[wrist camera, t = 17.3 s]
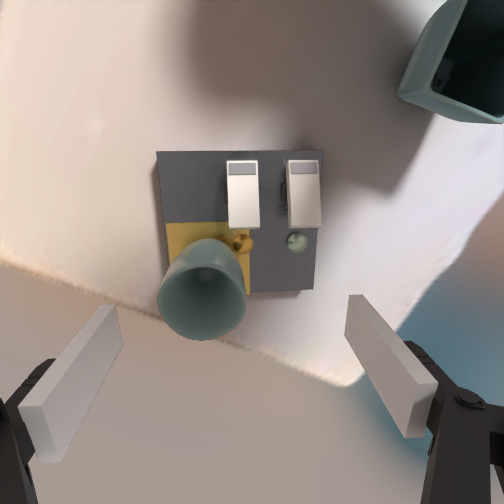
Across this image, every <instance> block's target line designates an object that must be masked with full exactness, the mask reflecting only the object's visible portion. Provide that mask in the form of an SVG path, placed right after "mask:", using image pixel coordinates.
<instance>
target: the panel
mask: <svg viewBox="0 0 504 504" xmlns="http://www.w3.org/2000/svg"><path fill="white" fill-rule="evenodd" d="M322 153H323V150H279V151H156V154H157V163H158V173H159V182H160V191H161V200H162V210H163V219H164V228H165V237H166V246H167V256H168V265H169V266H170V265H171V263H172V262H173V260H174V258H175V257H176V256H177V254H178V253H179V252H180V251H181V250H182V249H183V248H184V247H186V246H187V245H189V244H190V243H192V242H194V241H196V240H200V239H205V238H212V239H217V240H220V241H222V242H224V243H225V244H227V245H228V246H229V247H230V248H231V249H232V250H233V252H234V253H235V254H236V256H237V258H238V260H239V262H240V264H241V267H242V271H243V274H244V280H245V287H246V295H250V292H261V291H284V290H307V289H313V285H314V270H315V256H316V241H317V228H289V223H288V203H287V182H286V164H287V162H288V160H318V165H319V182H321V168H322ZM255 160H257V162H258V187H259V211H260V228H259V229H246V230H229V214H228V184H227V161H255Z"/></svg>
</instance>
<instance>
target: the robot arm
mask: <svg viewBox="0 0 504 504" xmlns="http://www.w3.org/2000/svg"><path fill="white" fill-rule="evenodd" d="M344 336H345V337H346V339H347V341H348V342H349V344H350V346H351V348H352V349H353V351H354V353H355V354H356V356H357V358H358V360H359V361H360V363H361V365H362V366H363V368H364V370H365V371H366V373H367V375H368V377H369V378H370V380H371V382H372V383H373V385H374V387H375V388H376V390H377V392H378V393H379V395H380V397H381V399H382V400H383V402H384V404H385V405H386V407H387V409H388V411H389V412H390V414H391V416H392V418H393V419H394V421H395V423H396V424H397V426H398V428H399V429H400V431H401V433H402V434H403V436H404V438H417V437H424V433H425V429H426V426H427V427H428V429H429V430H430V431H431V433H432V434H433V437H432V441H431V444H430V448H429V451H428V455H429V458H428V463H427V469H426V475H425V480H424V486H423V492H422V498H421V503H420V504H491V490H490V464H493V465H494V467H495V470H496V473H497V476H498V479H499V482H500V485H501V487H502V491H503V494H504V407H502V406H497V405H492V404H487V403H486V402H485V401H484V400H483V399H482V398H481V397H479V396H478V395H477V394H475V393H474V392H472V391H470V390H468V389H464V388H461V387H458V386H457V385H456V384H455V383H454V382H453V381H452V380H451V379H450V378H449V377H448V376H447V375H446V374H445V373H444V371H443V370H442V369H441V368H440V367H439V366H438V365H437V364H435V362H434V361H433V360H432V359H431V358H430V357H429V355H428V354H427V353H426V352H425V351H424V350H423V349H422V348H421V347H420V346H418V345H416V344H415V343H413V342H412V341H402V340H401V339H400V338H399V337H398V335H397V334H396V333H395V332H394V331H393V330H392V328H391V327H390V326H389V325H388V324H387V323H386V321H385V320H384V319H383V318H382V317H381V316H380V315H379V313H378V312H377V311H376V310H375V309H374V308H373V306H372V305H371V304H370V303H369V302H368V301H367V299H366V298H365V297H364V296H363V295H349V301H348V309H347V317H346V325H345V333H344ZM122 346H123V342H122V338H121V332H120V327H119V323H118V317H117V311H116V306H115V304H101V305H100V306H99V307H98V308H97V310H96V311H95V312H94V313H93V314H92V316H91V317H90V318H89V319H88V321H87V322H86V323H85V324H84V325H83V327H82V328H81V329H80V331H79V332H78V333H77V334H76V335H75V337H74V338H73V339H72V340H71V342H70V343H69V344H68V345H67V347H66V348H65V349H64V350H63V351H62V353H61V354H60V355H59V356H58V358H56V359H47V360H46V361H45V362H43V363H42V364H40V365H39V366H37V367H36V368H35V369H34V371H33V372H32V373H31V374H30V375H29V376H28V379H26V380H25V381H24V382H23V383H22V384H21V387H19V388H18V389H17V390H16V391H15V392H14V393H13V395H12V396H11V397H10V398H9V399H8V400H7V401H6V403H5V404H4V403H3V401H2V399H1V398H0V504H38V501H37V496H36V492H35V488H34V484H33V480H32V476H31V472H30V468H29V466H28V462H29V460H30V459H31V457H32V456H33V454H34V453H35V454H36V457H37V459H38V462H39V463H50V462H61V460H62V458H63V456H64V454H65V453H66V450H67V449H68V447H69V445H70V443H71V441H72V440H73V438H74V436H75V433H76V432H77V430H78V428H79V426H80V424H81V423H82V421H83V419H84V417H85V415H86V413H87V411H88V410H89V408H90V406H91V404H92V402H93V400H94V399H95V397H96V395H97V393H98V391H99V389H100V387H101V385H102V384H103V382H104V380H105V378H106V376H107V374H108V372H109V371H110V369H111V367H112V365H113V363H114V361H115V359H116V358H117V356H118V354H119V352H120V350H121V348H122Z"/></svg>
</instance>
